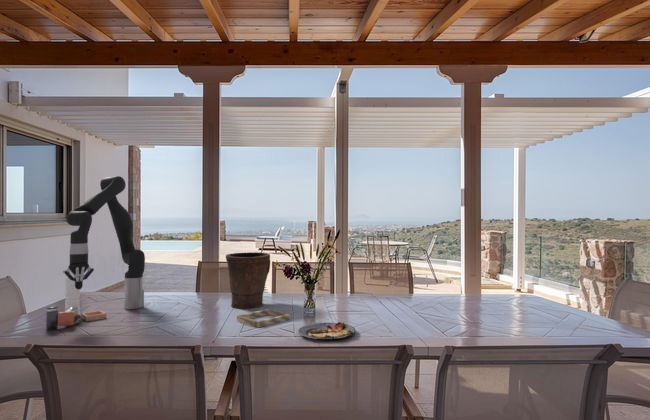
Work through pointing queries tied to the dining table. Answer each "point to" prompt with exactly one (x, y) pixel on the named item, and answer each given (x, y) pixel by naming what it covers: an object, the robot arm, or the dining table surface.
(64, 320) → the crank
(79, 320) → the base
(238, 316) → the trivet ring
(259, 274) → the clay pot
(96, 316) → the tray
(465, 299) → the dining table surface
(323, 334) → the food plate
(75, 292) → the water bottle
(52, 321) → the peg
